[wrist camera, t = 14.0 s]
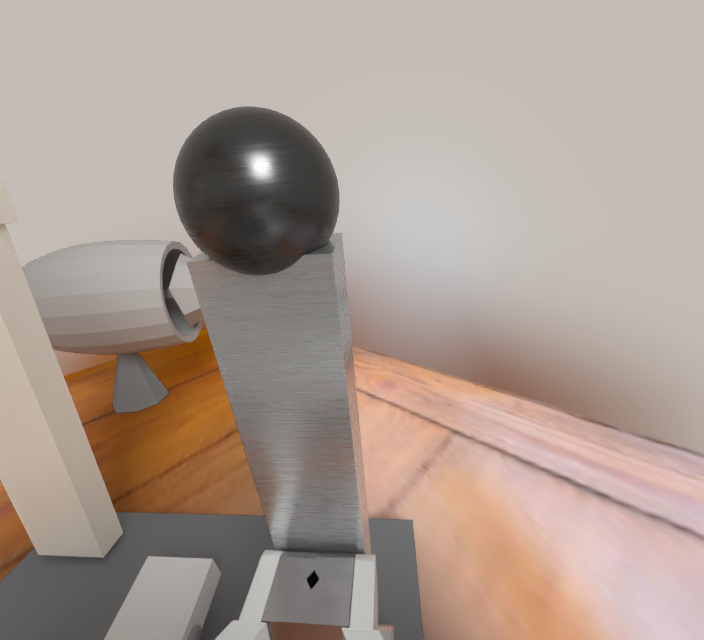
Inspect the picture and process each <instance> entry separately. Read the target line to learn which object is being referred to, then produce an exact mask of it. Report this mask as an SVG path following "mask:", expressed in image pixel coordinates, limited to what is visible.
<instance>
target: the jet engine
mask: <svg viewBox="0 0 704 640" xmlns="http://www.w3.org/2000/svg"><path fill="white" fill-rule="evenodd" d="M192 258H193V257H192V256H191V254H190V253H189V251H188V250H187V248H186V247H185V246H183V245H182V244H181V243H180V242H174V241H158V240H128V241H127V240H118V241H103V242H93V243H87V244H81V245H76V246H72V247H68V248H64V249H61V250H58V251H55V252H52V253H49V254H47V255H45V256H42V257H40V258H38V259H35V260H33V261H31V262H29V263H28V264H26V265H25V266H24V267H23V268H22V270H23V272H24V275H25V277H26V280H27V283H28V285H29V288H30V290H31V293H32V296H33V298H34V301H35V303H36V306H37V309H38V311H39V314H40V316H41V319H42V322H43V324H44V327H45V329H46V332H47V335H48V337H49V340H50V343H51V345H52V348H53V349H54V350H59V351H64V352H73V353H83V354H105V355H107V354H108V355H110V354H117V364H116V375H115V385H114V395H113V407H114V409H115V411H116V413H124V412H137V411H140V410H142V409H145V408H148V407H150V406H153V405H155V404H158V403H159V402H160V401H161V400H162V399H163V398H164V397H165V396H166V395H167V394H169V392H168V391H167V389H166V388H165V387H164V385H163V384H162V383H161V382H160V380H159V379H158V378H157V376H156V375H155V374H154V372H153V371H152V370H151V369H150V367H149V366H148V365H147V363H146V362H145V361H144V360H143V358H142V357H141V356H140V354H139V353H138V352H144V351H150V350H155V349H162V348H168V347H173V346H177V345H182V344H186V343H190V342H192V341H194V340H195V339H196V338H197V336H198V335H199V333H200V330H201V327H202V323H203V314H202V311H201V308H200V305H199V301H198V298H197V295H196V292H195V289H194V285H193V282H192V279H191V276H190V272H189V269H188V266H187V263H186V262H187V261H189V260H191V259H192Z"/></svg>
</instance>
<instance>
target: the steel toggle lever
mask: <svg viewBox="0 0 704 640" xmlns="http://www.w3.org/2000/svg"><path fill="white" fill-rule="evenodd" d="M173 190H174V200H175V204H176V208H177V212H178V214H179V217H180V220H181V222H182V224H183V226H184V228H185V230H186V231H187V233H188V235H189V236H190V238H191V239H192V240H193V242H194V243H195V244H196V245H197V247H198V248H199V249H200V250H201V251H202V253H201V254H199V255H197V256H196V257H194V258H192V259H191V260H189V261H187V262H186V263H187V266H188V269H189V272H190V276H191V279H192V282H193V285H194V289H195V292H196V295H197V298H198V301H199V305H200V308H201V311H202V314H203V318H204V321H205V324H206V327H207V331H208V334H209V337H210V340H211V343H212V347H213V350H214V353H215V356H216V360H217V363H218V366H219V369H220V373H221V376H222V379H223V382H224V385H225V389H226V392H227V395H228V398H229V402H230V405H231V408H232V411H233V415H234V418H235V421H236V424H237V428H238V431H239V434H240V437H241V440H242V444H243V447H244V450H245V453H246V457H247V460H248V463H249V466H250V470H251V473H252V476H253V479H254V482H255V486H256V489H257V492H258V495H259V499H260V502H261V505H262V508H263V512H264V515H265V518H266V521H267V524H268V528H269V531H270V534H271V537H272V541H273V544H274V547H275V550H278V551H293V552H309V553H320V552H321V553H356V554H372V553H371V543H370V532H369V521H368V510H367V500H366V489H365V478H364V467H363V457H362V446H361V435H360V424H359V414H358V403H357V392H356V381H355V371H354V360H353V349H352V338H351V328H350V317H349V306H348V295H347V286H346V275H345V263H344V254H343V253H344V252H343V243H342V233H337V234H332V233H333V231H334V228H335V225H336V221H337V217H338V213H339V188H338V181H337V177H336V174H335V171H334V168H333V166H332V164H331V161H330V159H329V157H328V155H327V153H326V152H325V150H324V148H323V147H322V146H321V144H320V143H319V142H318V140H317V139H316V138H315V137H314V136H313V135H312V134H311V133H310V132H309V131H308V130H307V129H306V128H304V127H303V126H302V125H301V124H300V123H298V122H296V121H295V120H293V119H291V118H290V117H288V116H286V115H284V114H281V113H279V112H276V111H273V110H270V109H265V108H259V107H237V108H232V109H228V110H224V111H222V112H219V113H217V114H215V115H213V116H211V117H209V118H208V119H207V120H205V121H203V122H202V123H201V124H200V125H199V126H198V127H197V128H196V129H194V130H193V131H192V133H191V134H190V135H189V137H188V138H187V139H186V141H185V143H184V144H183V146H182V148H181V150H180V152H179V155H178V158H177V161H176V164H175V170H174V177H173ZM378 630H380V633H381V635H382V637H383V639H384V640H394V625H391V624H378Z"/></svg>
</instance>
